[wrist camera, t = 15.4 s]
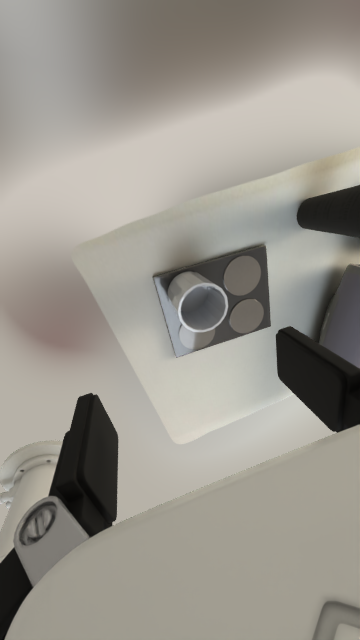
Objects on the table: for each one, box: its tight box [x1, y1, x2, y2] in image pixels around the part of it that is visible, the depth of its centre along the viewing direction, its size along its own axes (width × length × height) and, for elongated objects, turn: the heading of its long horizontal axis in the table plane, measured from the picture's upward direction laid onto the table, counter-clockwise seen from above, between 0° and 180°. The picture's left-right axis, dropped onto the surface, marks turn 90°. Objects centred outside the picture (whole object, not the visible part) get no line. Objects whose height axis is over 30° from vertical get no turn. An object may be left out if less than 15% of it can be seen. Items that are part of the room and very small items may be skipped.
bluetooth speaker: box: [319, 264, 360, 368], centre depth 45 cm, size 23×9×10 cm, turn 176°
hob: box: [153, 245, 271, 358], centre depth 41 cm, size 20×16×1 cm
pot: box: [168, 271, 228, 332], centre depth 35 cm, size 7×7×8 cm
